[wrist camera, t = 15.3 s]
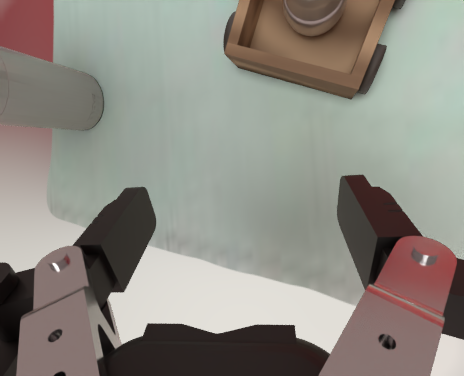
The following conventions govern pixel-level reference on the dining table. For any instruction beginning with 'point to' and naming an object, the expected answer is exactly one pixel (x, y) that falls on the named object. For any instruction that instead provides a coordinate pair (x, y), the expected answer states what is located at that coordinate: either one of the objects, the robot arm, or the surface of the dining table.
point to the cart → (310, 45)
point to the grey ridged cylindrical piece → (313, 15)
